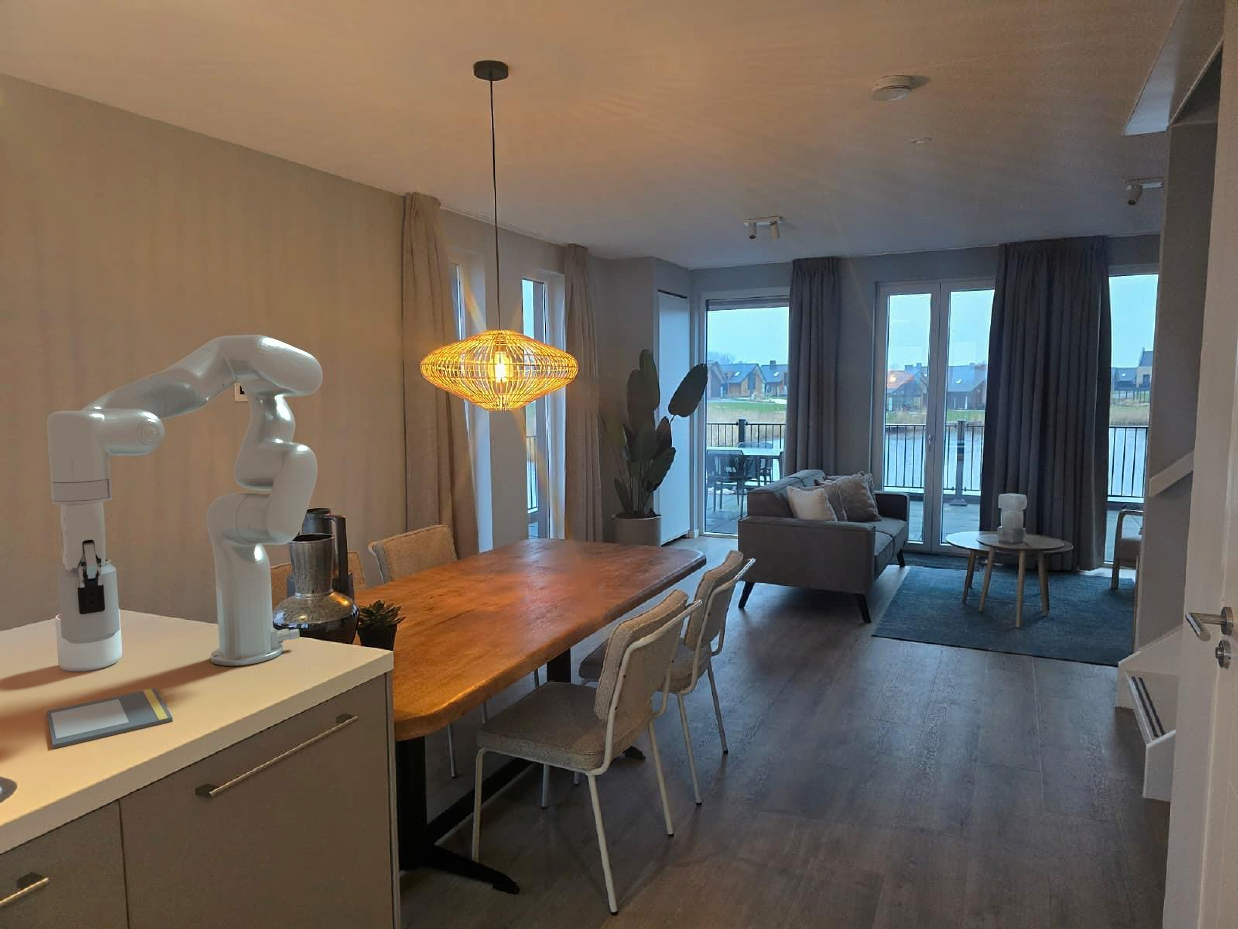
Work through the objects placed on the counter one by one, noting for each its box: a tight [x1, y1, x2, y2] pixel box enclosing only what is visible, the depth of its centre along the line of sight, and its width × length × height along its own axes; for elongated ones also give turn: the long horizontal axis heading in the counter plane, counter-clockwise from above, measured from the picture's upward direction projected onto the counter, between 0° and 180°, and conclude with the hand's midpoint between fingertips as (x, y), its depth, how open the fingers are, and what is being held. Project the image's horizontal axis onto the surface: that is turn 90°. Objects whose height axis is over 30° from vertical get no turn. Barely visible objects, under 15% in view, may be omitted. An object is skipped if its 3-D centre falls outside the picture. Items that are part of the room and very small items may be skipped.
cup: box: [54, 609, 123, 673], centre depth 148 cm, size 10×10×10 cm
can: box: [57, 557, 121, 644], centre depth 120 cm, size 8×8×12 cm
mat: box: [45, 688, 174, 749], centre depth 123 cm, size 15×16×1 cm
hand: (89, 606), depth 121 cm, fingers closed on can, 7 cm apart
